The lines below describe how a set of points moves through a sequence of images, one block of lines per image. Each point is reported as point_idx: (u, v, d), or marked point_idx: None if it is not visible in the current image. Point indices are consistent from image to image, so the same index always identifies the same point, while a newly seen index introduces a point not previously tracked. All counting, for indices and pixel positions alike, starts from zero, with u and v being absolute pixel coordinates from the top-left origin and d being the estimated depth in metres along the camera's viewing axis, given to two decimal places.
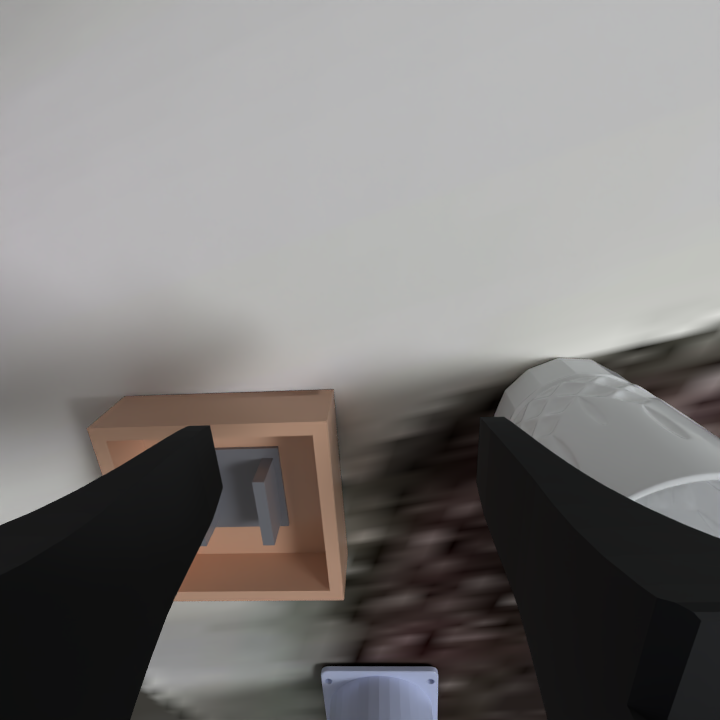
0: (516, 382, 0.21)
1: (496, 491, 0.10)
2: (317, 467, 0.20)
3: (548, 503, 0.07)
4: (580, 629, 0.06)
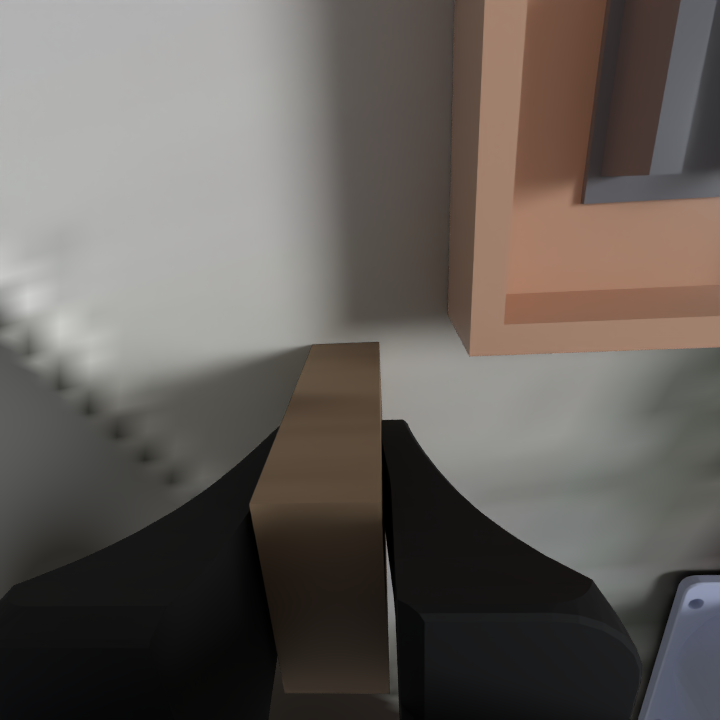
0: None
1: (384, 493, 0.10)
2: None
3: (391, 506, 0.07)
4: None
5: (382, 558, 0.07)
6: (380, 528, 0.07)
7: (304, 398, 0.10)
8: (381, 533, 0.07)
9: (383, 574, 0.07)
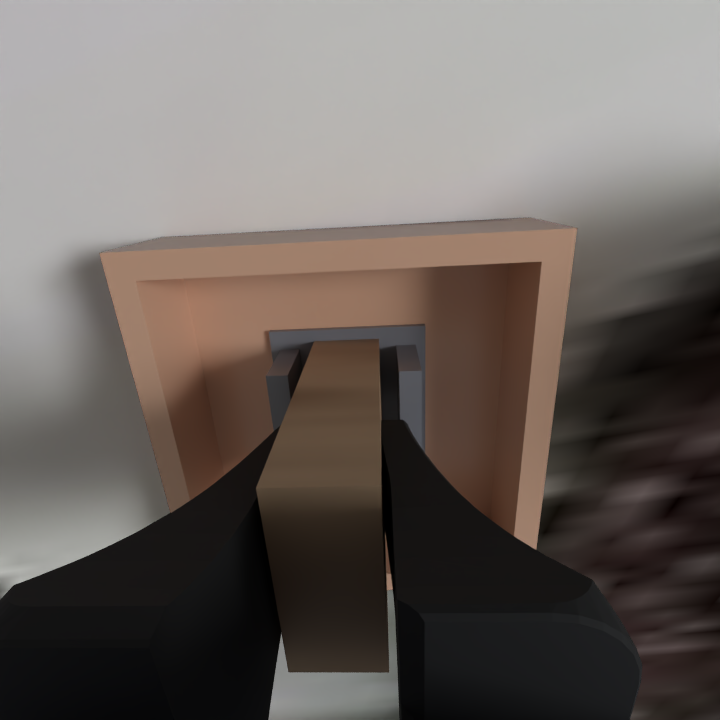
0: None
1: (384, 493, 0.10)
2: (536, 333, 0.11)
3: (391, 506, 0.07)
4: None
5: (382, 540, 0.07)
6: (380, 511, 0.07)
7: (307, 391, 0.10)
8: (381, 516, 0.07)
9: (382, 556, 0.07)
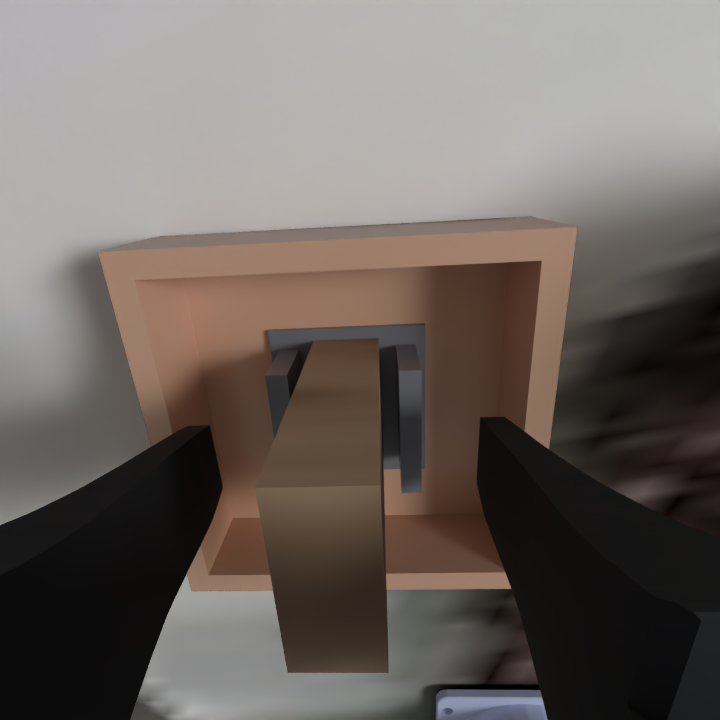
0: None
1: (496, 491, 0.10)
2: (536, 332, 0.11)
3: (548, 503, 0.07)
4: (580, 629, 0.06)
5: (381, 540, 0.07)
6: (379, 511, 0.07)
7: (306, 391, 0.10)
8: (380, 516, 0.07)
9: (382, 556, 0.07)
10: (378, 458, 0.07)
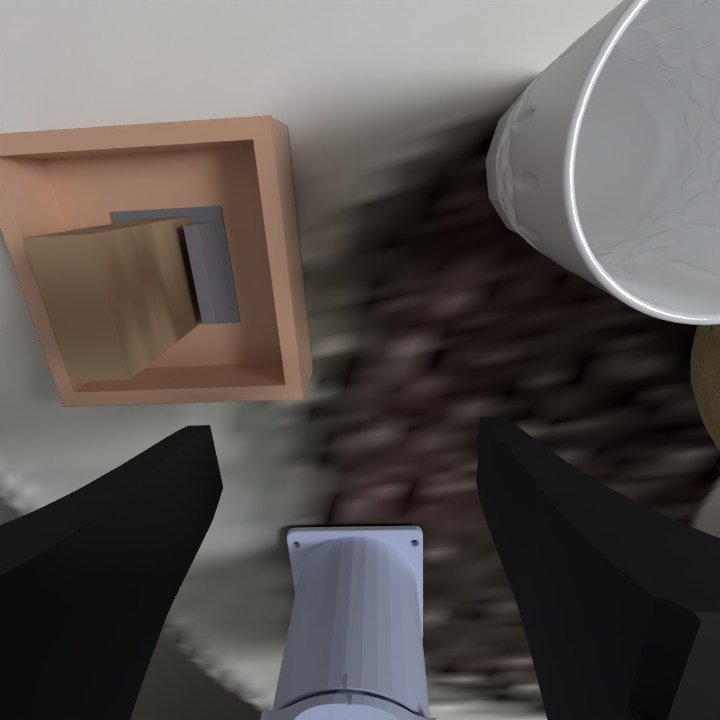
0: None
1: (496, 491, 0.10)
2: (261, 192, 0.16)
3: (547, 503, 0.07)
4: (580, 629, 0.06)
5: (100, 274, 0.13)
6: (94, 253, 0.12)
7: (103, 226, 0.16)
8: (95, 256, 0.12)
9: (104, 286, 0.13)
10: (103, 231, 0.13)
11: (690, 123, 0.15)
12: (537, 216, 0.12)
